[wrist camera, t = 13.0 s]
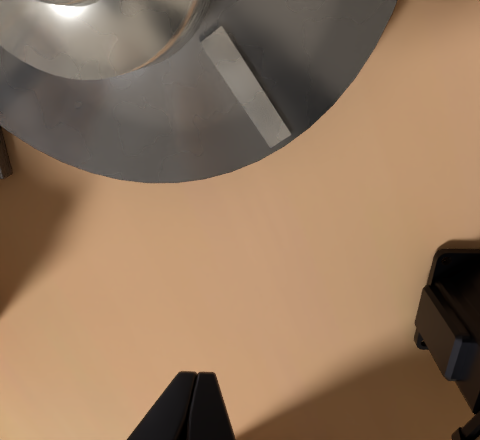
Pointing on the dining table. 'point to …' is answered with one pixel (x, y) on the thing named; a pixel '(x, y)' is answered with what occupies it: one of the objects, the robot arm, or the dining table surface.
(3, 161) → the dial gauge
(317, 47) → the platter
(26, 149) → the dining table surface
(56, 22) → the cover
